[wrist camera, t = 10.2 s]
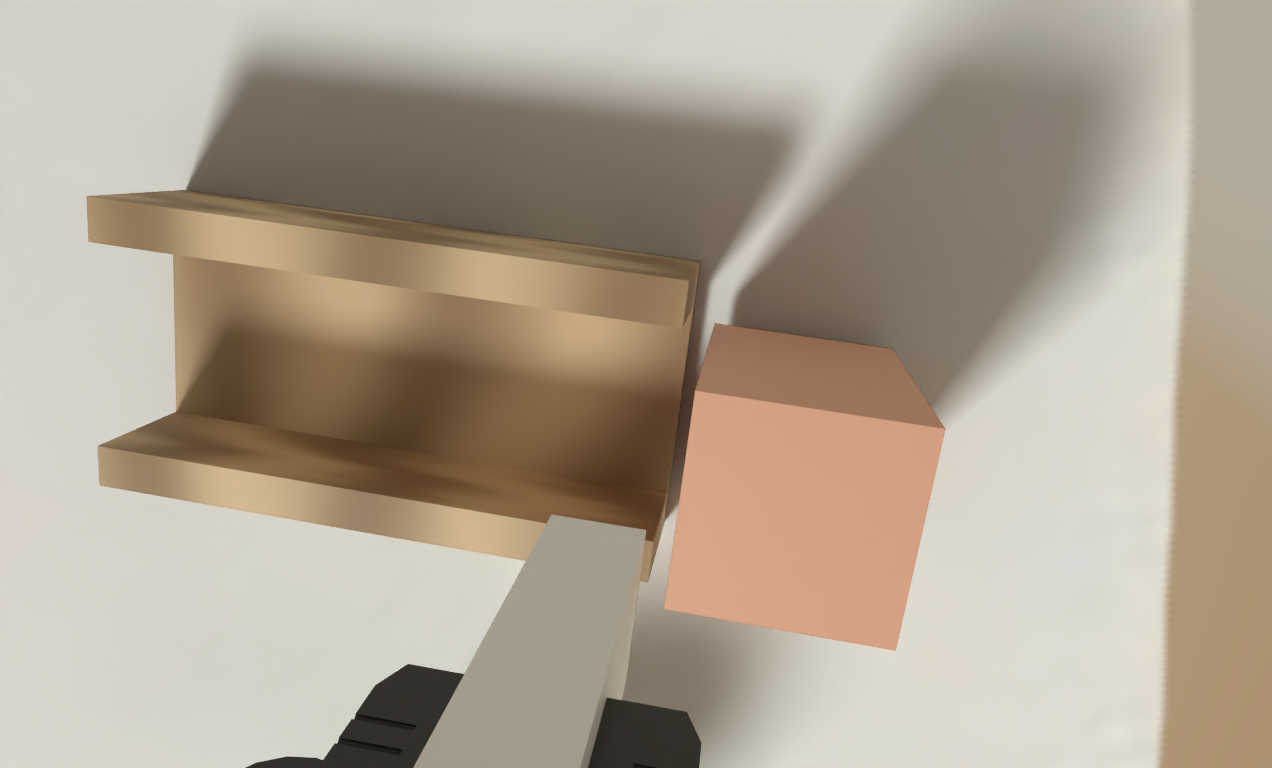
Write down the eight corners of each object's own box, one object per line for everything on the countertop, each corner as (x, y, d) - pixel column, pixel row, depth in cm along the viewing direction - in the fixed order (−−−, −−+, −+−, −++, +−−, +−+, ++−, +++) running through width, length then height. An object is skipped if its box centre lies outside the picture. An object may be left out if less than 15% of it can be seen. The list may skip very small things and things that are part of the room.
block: (691, 486, 27) (663, 609, 19) (715, 323, 25) (694, 390, 18) (859, 513, 26) (895, 651, 19) (892, 349, 25) (945, 428, 18)
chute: (188, 440, 29) (99, 485, 25) (184, 190, 27) (86, 196, 23) (664, 521, 28) (647, 582, 24) (700, 261, 26) (689, 280, 22)
